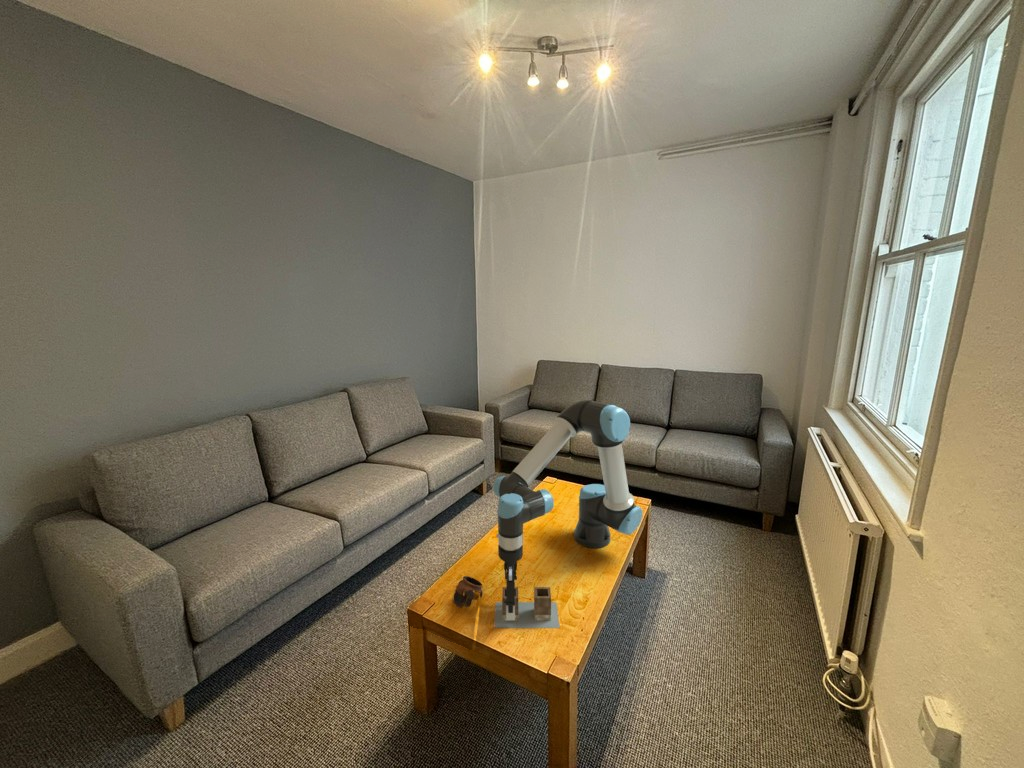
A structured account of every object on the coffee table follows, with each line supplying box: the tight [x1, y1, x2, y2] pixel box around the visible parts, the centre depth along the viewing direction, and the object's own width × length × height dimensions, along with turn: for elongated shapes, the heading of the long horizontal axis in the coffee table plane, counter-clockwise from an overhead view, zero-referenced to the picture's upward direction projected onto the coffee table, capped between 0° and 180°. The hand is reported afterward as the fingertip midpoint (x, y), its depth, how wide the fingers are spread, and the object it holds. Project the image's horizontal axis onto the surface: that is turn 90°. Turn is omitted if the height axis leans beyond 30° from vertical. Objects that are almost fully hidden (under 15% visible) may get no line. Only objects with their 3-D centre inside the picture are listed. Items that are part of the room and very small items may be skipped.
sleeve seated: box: [533, 586, 552, 621], centre depth 132 cm, size 5×5×8 cm
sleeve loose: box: [501, 586, 519, 621], centre depth 132 cm, size 5×5×8 cm
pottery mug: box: [452, 575, 483, 609], centre depth 140 cm, size 12×10×8 cm
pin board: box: [493, 601, 561, 629], centre depth 132 cm, size 20×11×7 cm, turn 90°
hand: (510, 608), depth 132 cm, fingers open, 8 cm apart
